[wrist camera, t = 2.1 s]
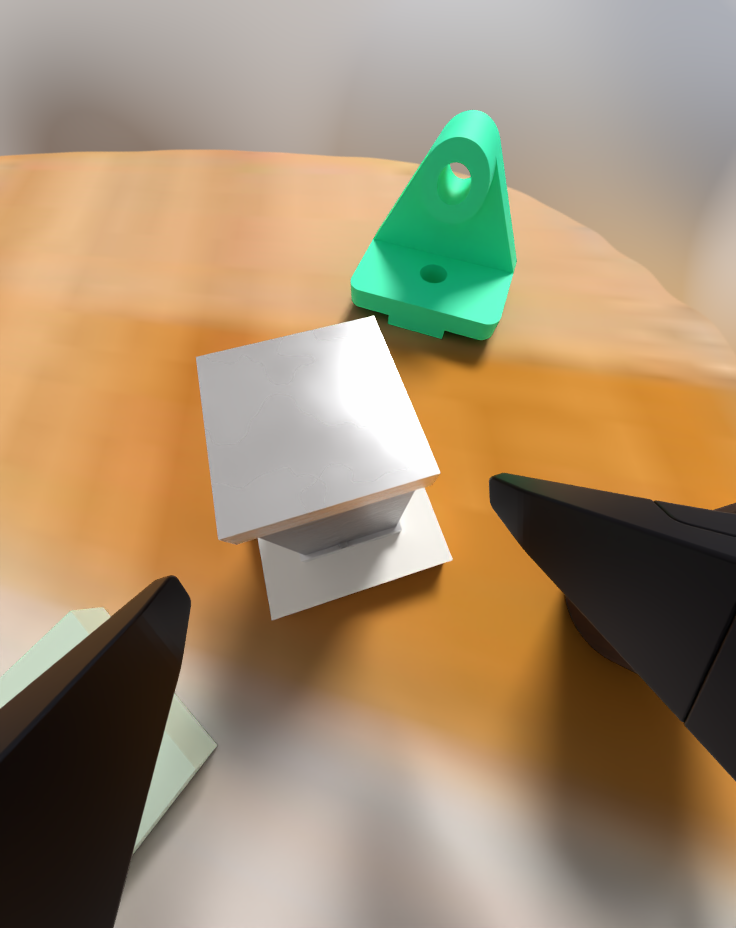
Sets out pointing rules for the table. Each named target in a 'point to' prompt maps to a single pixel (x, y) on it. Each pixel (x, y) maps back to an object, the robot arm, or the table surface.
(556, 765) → the table surface
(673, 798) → the table surface
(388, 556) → the stand
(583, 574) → the robot arm
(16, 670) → the stand
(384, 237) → the camera mount
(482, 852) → the table surface
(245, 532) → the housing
